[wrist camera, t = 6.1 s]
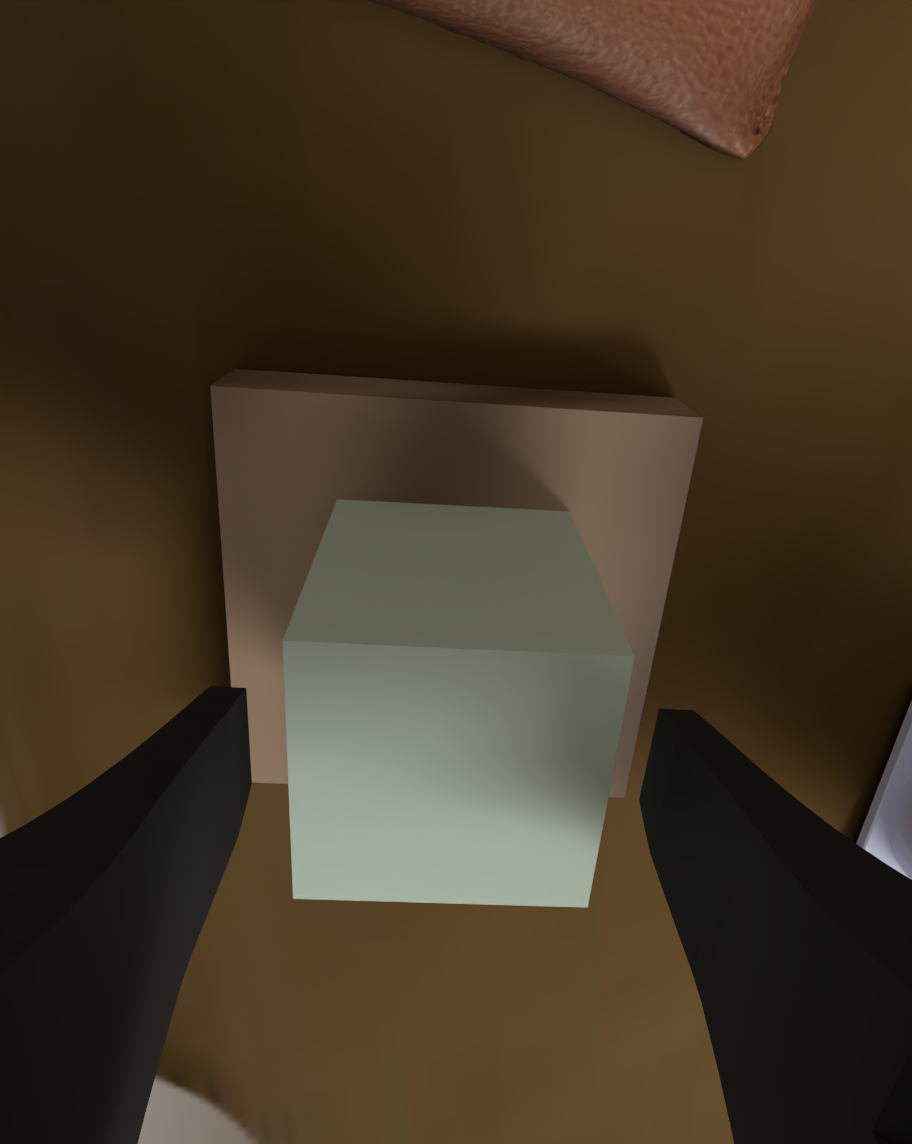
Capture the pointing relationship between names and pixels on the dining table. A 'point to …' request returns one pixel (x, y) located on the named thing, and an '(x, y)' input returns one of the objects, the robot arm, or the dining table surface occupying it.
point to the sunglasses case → (651, 53)
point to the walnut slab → (436, 499)
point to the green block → (451, 708)
